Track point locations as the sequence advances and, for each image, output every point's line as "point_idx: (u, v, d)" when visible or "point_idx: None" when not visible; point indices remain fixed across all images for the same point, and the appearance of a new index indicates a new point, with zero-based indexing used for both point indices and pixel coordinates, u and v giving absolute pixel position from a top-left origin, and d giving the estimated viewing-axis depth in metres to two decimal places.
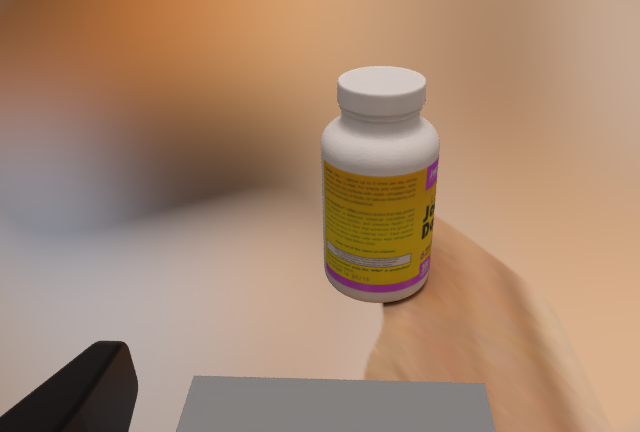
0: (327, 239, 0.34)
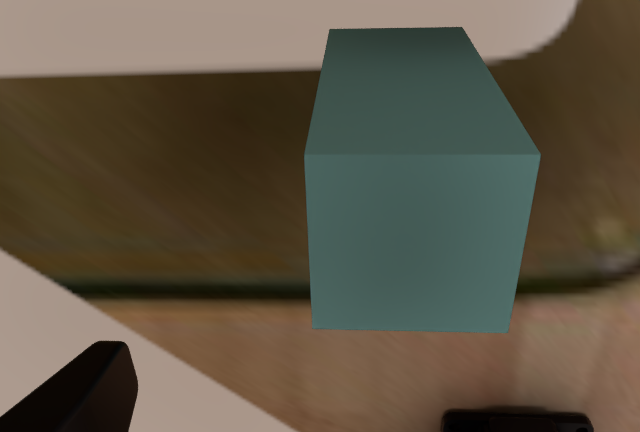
0: None
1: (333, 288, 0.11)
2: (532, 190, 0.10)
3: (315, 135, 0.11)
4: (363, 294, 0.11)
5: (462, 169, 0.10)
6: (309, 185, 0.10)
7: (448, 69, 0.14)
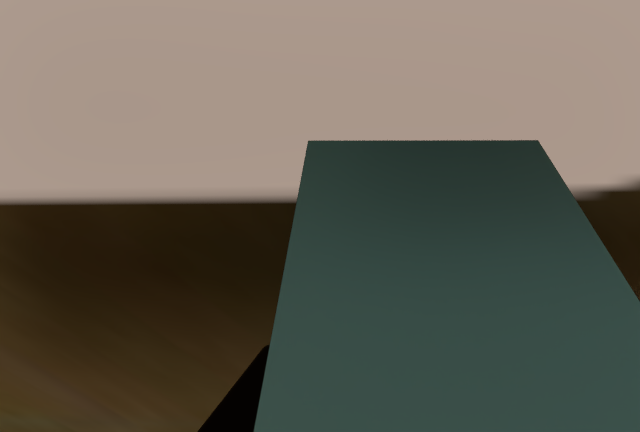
0: None
1: None
2: None
3: None
4: None
5: None
6: None
7: (550, 296, 0.06)
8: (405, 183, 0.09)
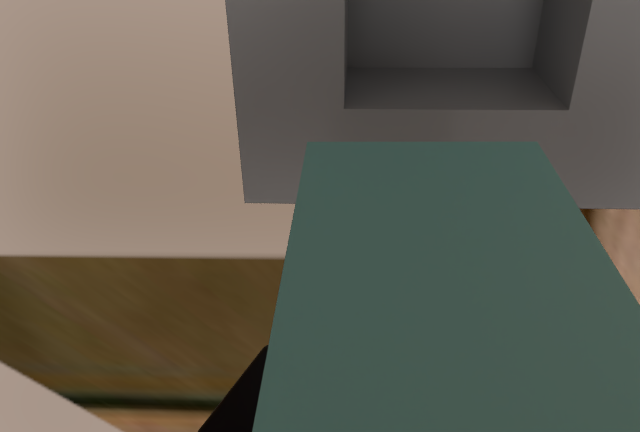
0: None
1: None
2: None
3: None
4: None
5: None
6: None
7: (549, 297, 0.06)
8: (404, 184, 0.09)
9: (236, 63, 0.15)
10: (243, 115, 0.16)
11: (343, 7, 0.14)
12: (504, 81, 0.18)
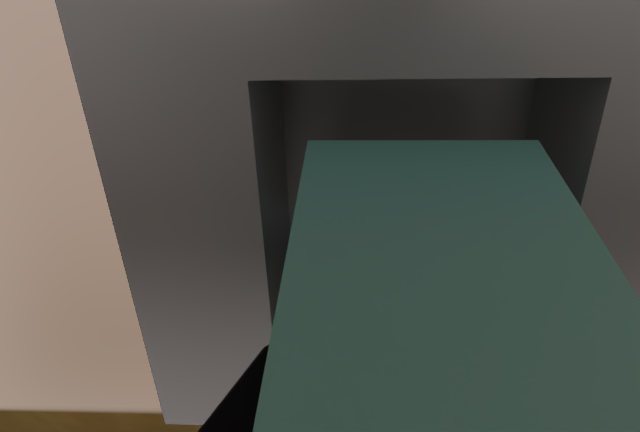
0: None
1: None
2: None
3: None
4: None
5: None
6: None
7: (551, 295, 0.06)
8: (405, 183, 0.09)
9: (138, 294, 0.12)
10: (152, 344, 0.13)
11: (262, 242, 0.12)
12: None
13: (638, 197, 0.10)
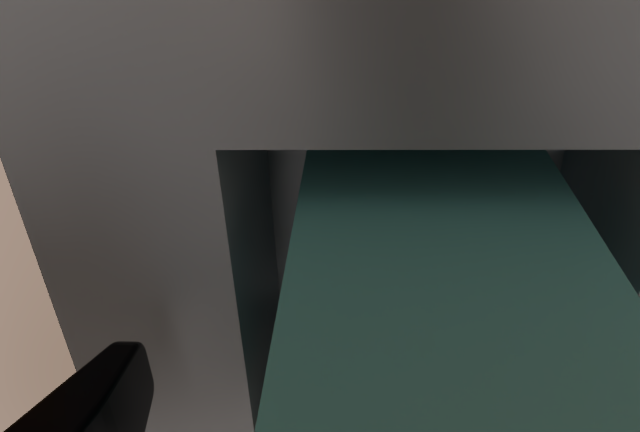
0: None
1: None
2: None
3: None
4: None
5: None
6: None
7: (522, 228, 0.08)
8: None
9: None
10: None
11: (239, 336, 0.09)
12: None
13: None
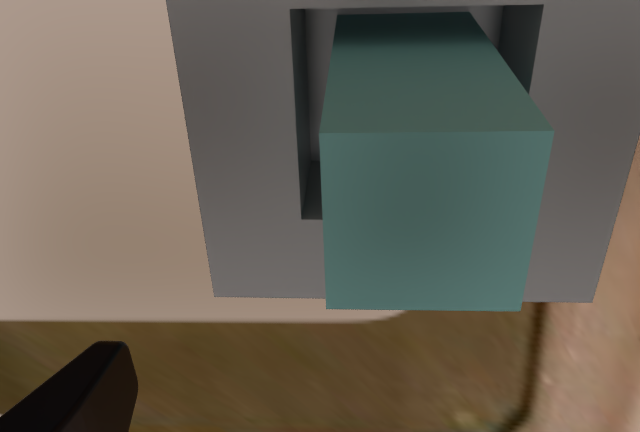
0: None
1: (347, 268, 0.12)
2: (545, 167, 0.10)
3: (329, 115, 0.11)
4: (377, 273, 0.12)
5: (476, 147, 0.10)
6: (324, 164, 0.10)
7: (458, 51, 0.14)
8: (392, 26, 0.16)
9: (200, 182, 0.17)
10: (208, 224, 0.17)
11: (295, 136, 0.16)
12: None
13: (568, 96, 0.15)
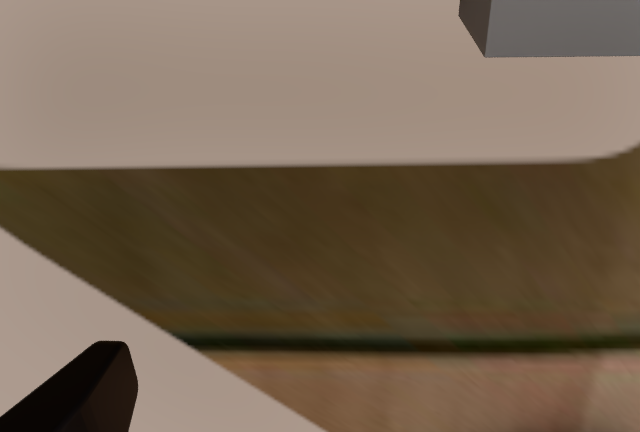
0: None
1: None
2: None
3: None
4: None
5: None
6: None
7: None
8: None
9: None
10: None
11: None
12: None
13: None
